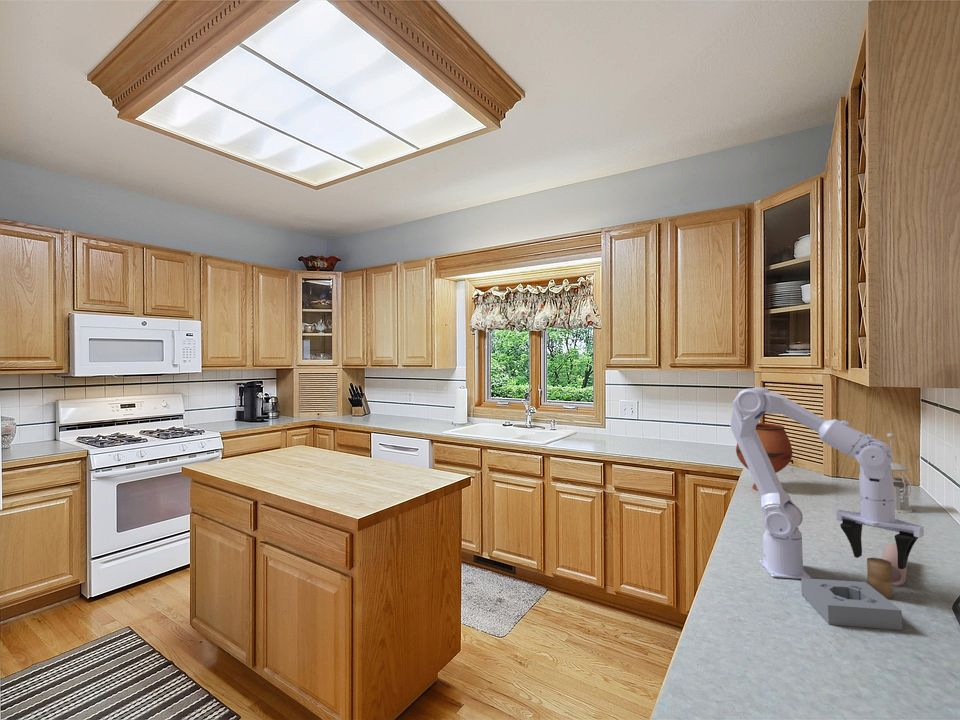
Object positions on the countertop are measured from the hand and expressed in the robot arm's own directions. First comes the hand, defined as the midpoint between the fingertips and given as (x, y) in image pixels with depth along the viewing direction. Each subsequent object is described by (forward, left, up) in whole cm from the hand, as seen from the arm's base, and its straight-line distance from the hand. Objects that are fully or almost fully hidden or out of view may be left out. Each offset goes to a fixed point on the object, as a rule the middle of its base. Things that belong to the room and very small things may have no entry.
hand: (879, 561), depth 104 cm
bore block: (+9, -10, -7) cm, 15 cm away
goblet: (-90, +6, -7) cm, 90 cm away
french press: (-67, +38, -7) cm, 77 cm away
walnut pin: (0, 0, -7) cm, 7 cm away
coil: (-13, +9, -7) cm, 18 cm away
